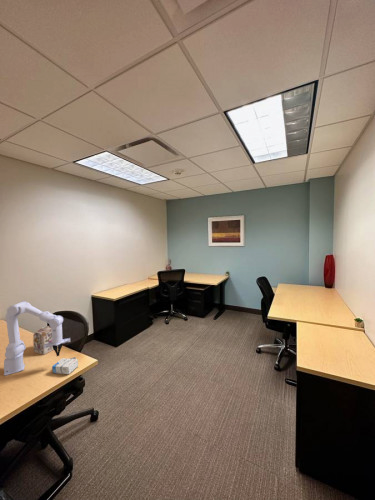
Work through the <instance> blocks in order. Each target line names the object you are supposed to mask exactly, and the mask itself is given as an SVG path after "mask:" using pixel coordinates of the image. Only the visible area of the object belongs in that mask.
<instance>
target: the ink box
mask: <svg viewBox="0 0 375 500" xmlns="http://www.w3.org/2000/svg"><path fill="white" fill-rule="evenodd" d="M76 367H77V368H79V360H78V358H76V359H70V358H63V357H62V358H61V359H59V360H58V361H57V362H56V363H54V364H53V365H52V367H51V369H52V373H53V374H59V375H60V374H61V375H62V374H63V375H69V374H71V373H72V372H73V371H74V370H75V369H77V368H76Z"/></svg>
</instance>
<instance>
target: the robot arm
mask: <svg viewBox="0 0 375 500" xmlns="http://www.w3.org/2000/svg"><path fill="white" fill-rule="evenodd" d="M25 313H27V314H30V315H33V316H36V317H38V318H39V321H42V322H44V323H47V324H49V325H48V326H49V327H51V329H52V342H50V343H47V344H44V349H45V348H47V347H51V346H53V349H54V350H53V351H54V352H55V355H56V357H59V356H60V352H61V350H62V348H63V344H66V343H71V337H68V338H64V339H63V322H64V317H63V316H62V315H56V314H53V313H51V312H50V311H48V310H47V311H42V310H41V309H38V308H37V307H35V306H33V305H31V303H30V302H28V301H25V300H22V301H20V302H18V303H16V304H12V305H10V306H8V307H7V308H6V315H5V321H6V328H7V339H8V344H7V345H6V348H5V353H4V357H5V359H4V361H3V372H4V373H3V375H4V376H8V375H12V374H16V373H19V372H22V371H24V370H25V366H26V364H25V363H24V353H25V352H24V351H25V350H26V345H25V343H24V340H21V335H20V327H19V320H18V316H20V315H21V314H25ZM57 345H58V348H57Z"/></svg>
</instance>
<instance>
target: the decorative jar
mask: <svg viewBox="0 0 375 500" xmlns="http://www.w3.org/2000/svg"><path fill="white" fill-rule="evenodd" d="M32 339H33V340H32V342H33V343H32V345H33V353H36V354H40V355H47V354H49V353H50V352H53V351H54V349H53V346H51V347H47V348H45V349H44V344H47V343H50V342H52V329H51V327H50V325H45V326H43V327H41V328H39V329H37V330H36V331H35V332H34V334H33V337H32ZM57 349H58V345H57Z"/></svg>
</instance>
